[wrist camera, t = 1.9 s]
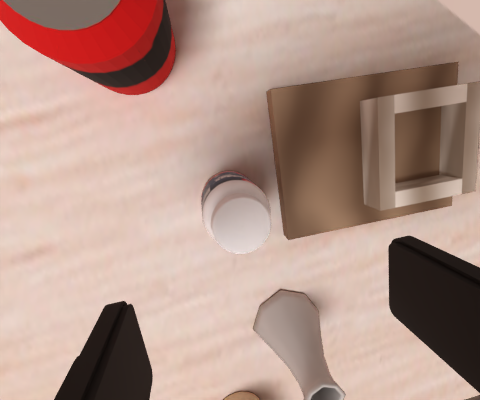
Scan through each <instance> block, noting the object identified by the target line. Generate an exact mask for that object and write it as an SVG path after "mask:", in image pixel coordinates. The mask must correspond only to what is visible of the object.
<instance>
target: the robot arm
mask: <svg viewBox="0 0 480 400" xmlns="http://www.w3.org/2000/svg"><path fill="white" fill-rule="evenodd" d="M389 306H390V310H391V312H392V314H393V315H394V316H395V317H396V318H397V319H398V320H399V321H400V322H401V323H402V324H404V325H405V326H406V327H407V328H408V329H409V330H410V331H411V332H413V333H414V334H415V335H416V336H417V337H418V338H419V339H420V340H421V341H423V342H424V343H425V344H426V345H427V346H428V347H429V348H430V349H431V350H433V351H434V352H435V353H436V354H437V355H438V356H439V357H440V358H441V359H443V360H444V361H445V362H446V363H447V364H448V365H449V366H450V367H451V368H453V369H454V370H455V371H456V372H457V373H458V374H459V375H460V376H461V377H463V378H464V379H465V380H466V381H467V382H468V383H469V384H470V385H471V386H473V387H474V388H475V389H476V390H477V391H478V392H479V393H480V268H479V267H477V266H475V265H473V264H471V263H468V262H466V261H464V260H462V259H460V258H458V257H455V256H453V255H451V254H449V253H447V252H445V251H443V250H440V249H438V248H436V247H434V246H432V245H430V244H427V243H425V242H423V241H421V240H419V239H417V238H414V237H412V236H405V237H401V238H396V239H394V240H393V241H392V243H391V244H390V245H389ZM151 386H152V368H151V365H150V361H149V358H148V355H147V351H146V348H145V344H144V341H143V338H142V334H141V331H140V328H139V324H138V321H137V318H136V314H135V311H134V308H133V305H132V304H128V305H127V303H126V302H125V301H122V302H117V303H113V304H108V305H106V306H105V307H104V309H103V311H102V313H101V315H100V317H99V319H98V321H97V322H96V324H95V326H94V328H93V330H92V332H91V334H90V336H89V338H88V340H87V342H86V344H85V346H84V348H83V350H82V352H81V354H80V356H78V357H77V358H76V359H75V361H74V363H73V364H72V366H71V368H70V370H69V372H68V374H67V376H66V378H65V380H64V382H63V384H62V385H61V387H60V389H59V391H58V393H57V395H56V397H55V399H54V400H149V398H150V392H151ZM466 400H480V395H478V396H475V397H472V398H469V399H466Z"/></svg>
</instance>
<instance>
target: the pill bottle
mask: <svg viewBox="0 0 480 400" xmlns="http://www.w3.org/2000/svg"><path fill="white" fill-rule="evenodd" d="M202 219H203V223H204V226H205V229H206V231H207V232H208V234H209V235H210V236H211V237H212V238H213V239H214V240H216V242H217V243H218V244H219V245H220V246H221V247H222V248H223V249H224V250H226V251H228V252H231V253H234V254H246V253H250V252H252V251H254V250H256V249H258V248H259V247H260V246H262V245H263V243H264V242H265V241H266V239H267V238H268V236H269V233H270V230H271V219H270V205H269V202H268V199H267V197H266V195H265V194H264V192H263V191H262V190H261V189H260V188H259V187H258V186H256V185H255V184H254V183H253V182H252V181H251V180H250V179H248V178H247V177H246V176H244V175H243V174H241V173H238V172H235V171H224V172H220V173H218V174H216V175H214V176H213V177H212V178H210V179H209V180H208V182H207V183H206V185H205V186H204V189H203V192H202Z"/></svg>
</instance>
